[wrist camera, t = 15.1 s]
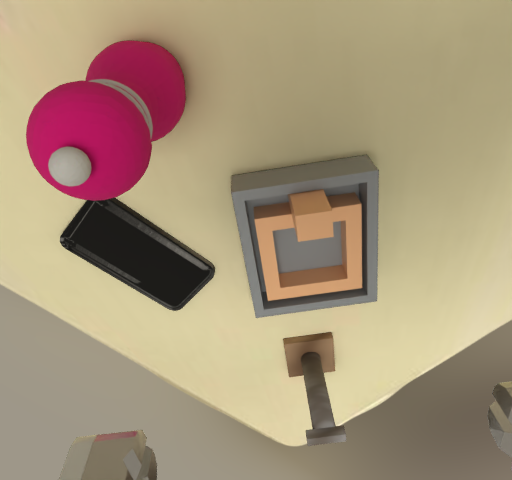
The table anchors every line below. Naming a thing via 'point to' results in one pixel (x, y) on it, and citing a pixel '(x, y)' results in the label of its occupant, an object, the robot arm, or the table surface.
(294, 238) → the tray
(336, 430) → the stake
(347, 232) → the ring
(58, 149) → the pepper mill
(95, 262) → the phone
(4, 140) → the table surface
